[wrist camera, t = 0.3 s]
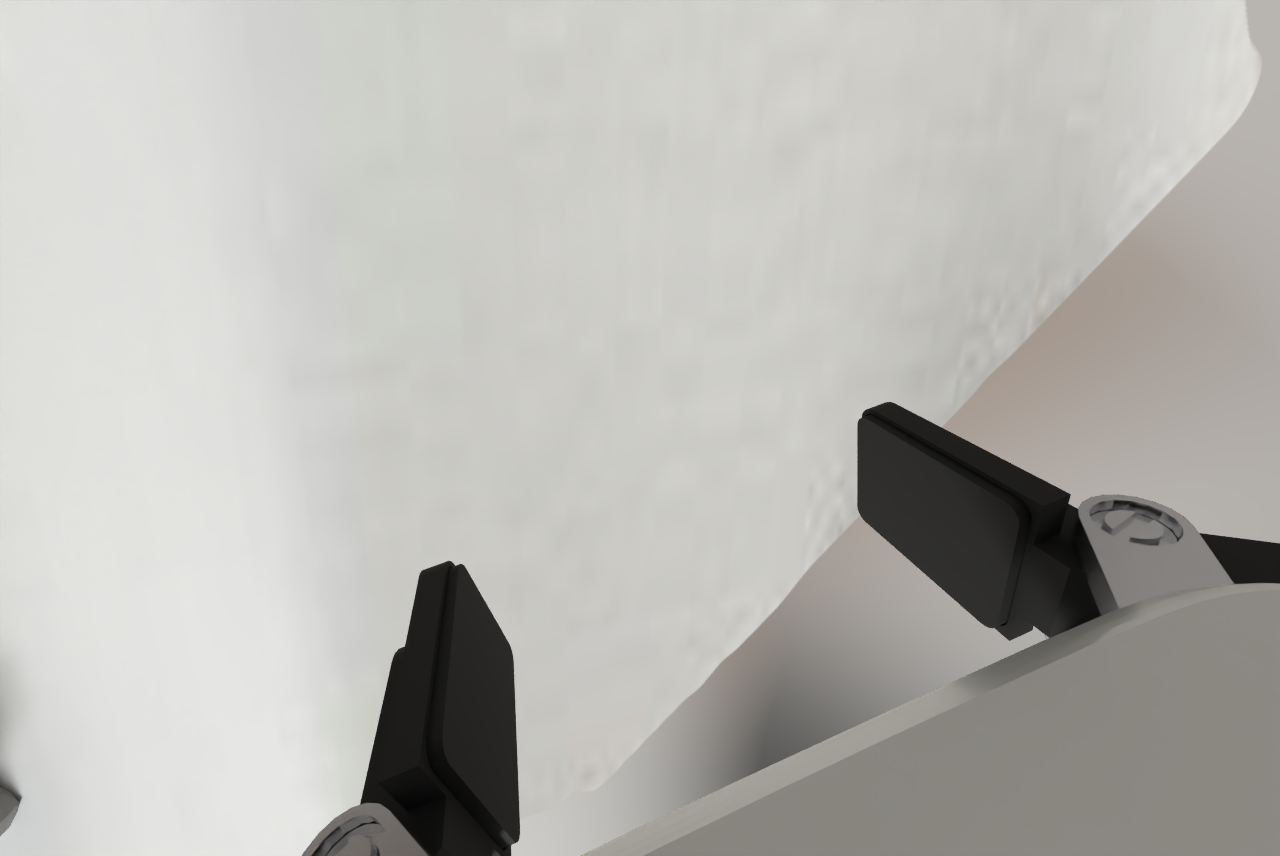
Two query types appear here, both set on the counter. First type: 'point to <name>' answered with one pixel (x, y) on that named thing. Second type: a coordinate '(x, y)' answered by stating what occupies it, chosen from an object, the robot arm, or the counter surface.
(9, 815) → the coffeepot
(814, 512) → the counter surface
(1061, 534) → the robot arm
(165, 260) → the counter surface
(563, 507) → the counter surface
